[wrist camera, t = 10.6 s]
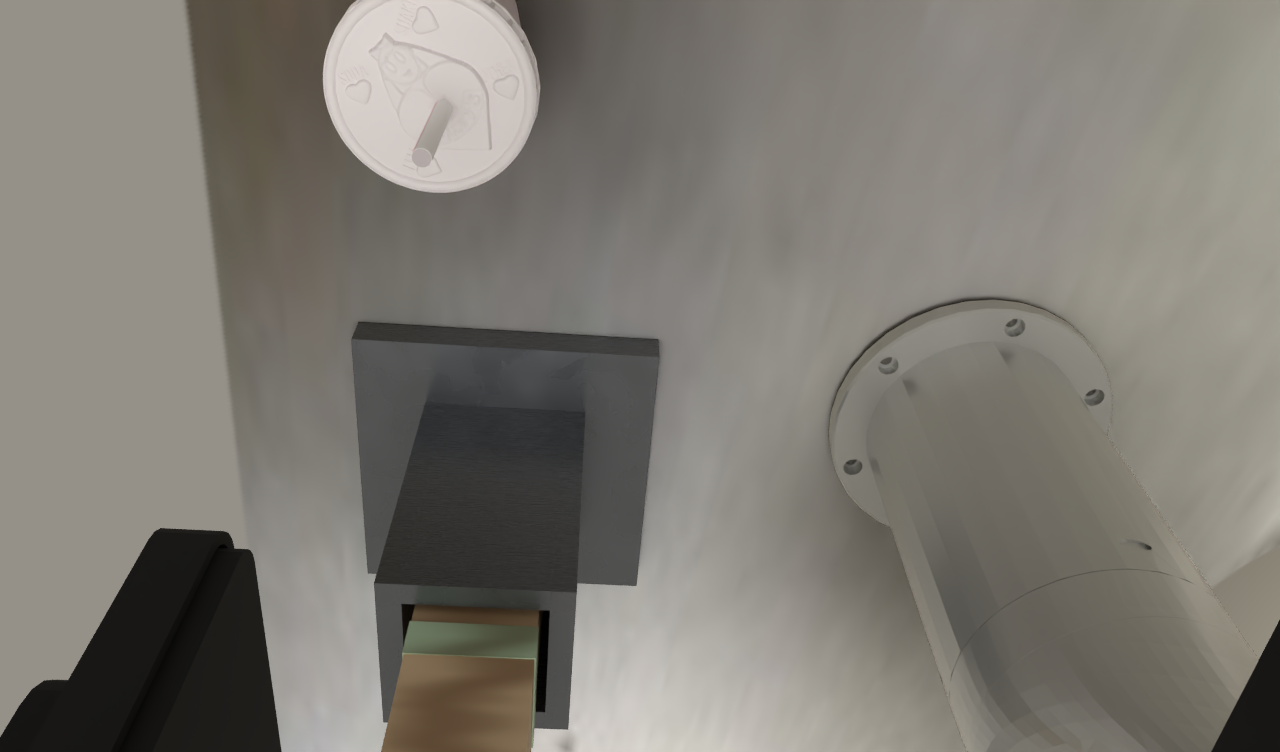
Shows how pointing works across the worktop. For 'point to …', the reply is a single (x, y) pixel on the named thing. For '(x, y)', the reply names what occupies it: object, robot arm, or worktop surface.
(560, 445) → the stand
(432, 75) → the smoothie
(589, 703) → the worktop surface
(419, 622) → the column
